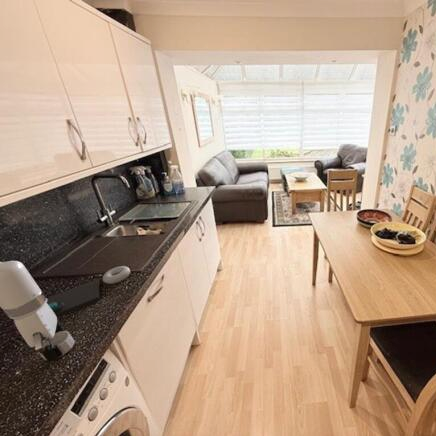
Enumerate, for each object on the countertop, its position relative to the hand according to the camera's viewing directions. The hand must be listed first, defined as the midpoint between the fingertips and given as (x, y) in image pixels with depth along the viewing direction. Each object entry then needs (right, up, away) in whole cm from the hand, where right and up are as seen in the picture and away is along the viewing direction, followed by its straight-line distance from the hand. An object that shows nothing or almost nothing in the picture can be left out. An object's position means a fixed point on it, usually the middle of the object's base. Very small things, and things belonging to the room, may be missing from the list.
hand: (57, 346), depth 72 cm
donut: (-5, +13, +31) cm, 34 cm away
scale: (-14, +7, +20) cm, 26 cm away
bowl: (0, -2, +1) cm, 2 cm away
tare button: (-15, +7, +14) cm, 22 cm away
